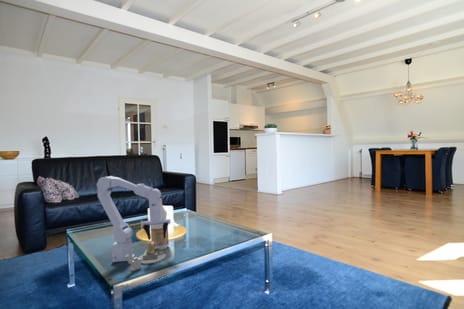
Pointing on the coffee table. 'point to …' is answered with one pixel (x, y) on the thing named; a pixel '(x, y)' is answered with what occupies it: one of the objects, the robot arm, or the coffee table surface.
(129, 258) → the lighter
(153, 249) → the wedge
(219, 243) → the coffee table surface
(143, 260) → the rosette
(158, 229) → the fruit juice
